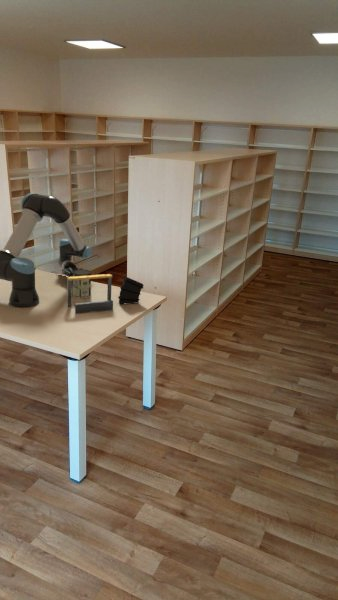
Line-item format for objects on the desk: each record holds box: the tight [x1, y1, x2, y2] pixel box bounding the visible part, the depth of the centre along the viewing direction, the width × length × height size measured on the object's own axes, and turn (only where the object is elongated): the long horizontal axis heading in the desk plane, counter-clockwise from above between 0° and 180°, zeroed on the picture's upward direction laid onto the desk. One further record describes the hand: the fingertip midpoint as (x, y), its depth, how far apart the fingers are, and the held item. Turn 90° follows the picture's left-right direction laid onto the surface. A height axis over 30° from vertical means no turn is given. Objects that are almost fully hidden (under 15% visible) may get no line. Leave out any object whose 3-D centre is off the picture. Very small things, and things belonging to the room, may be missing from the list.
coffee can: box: [72, 268, 92, 299], centre depth 246 cm, size 10×10×14 cm
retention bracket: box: [66, 273, 114, 315], centre depth 229 cm, size 24×11×16 cm, turn 116°
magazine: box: [117, 276, 144, 305], centre depth 242 cm, size 4×13×15 cm, turn 114°
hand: (79, 278), depth 254 cm, fingers closed
